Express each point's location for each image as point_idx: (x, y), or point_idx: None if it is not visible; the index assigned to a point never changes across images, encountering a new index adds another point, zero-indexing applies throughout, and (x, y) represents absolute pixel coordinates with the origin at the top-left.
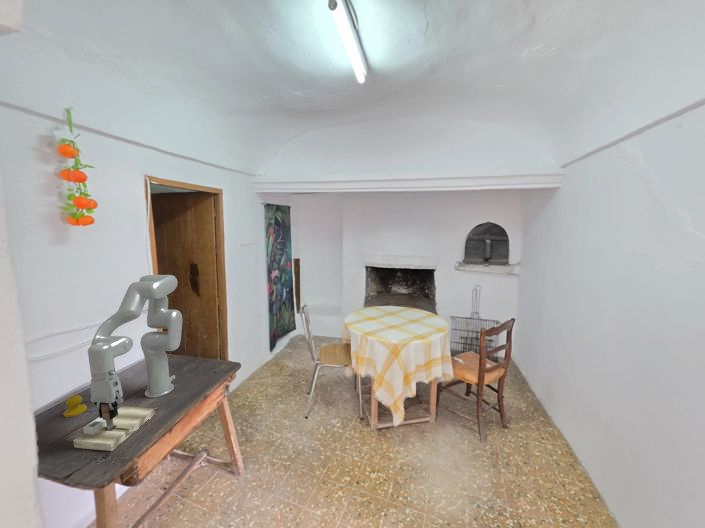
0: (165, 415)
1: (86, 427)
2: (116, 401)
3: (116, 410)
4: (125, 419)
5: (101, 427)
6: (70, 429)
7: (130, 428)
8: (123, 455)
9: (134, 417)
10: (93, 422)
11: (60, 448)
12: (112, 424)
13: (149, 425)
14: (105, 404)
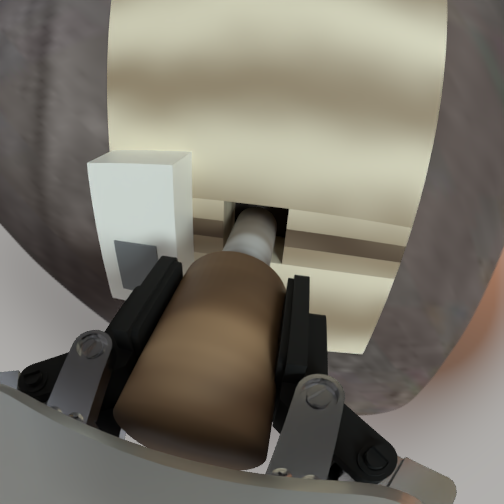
0: (496, 36)
1: (126, 295)
2: (326, 465)
3: (323, 356)
4: (296, 126)
5: (189, 243)
6: (23, 179)
7: (406, 234)
8: (422, 342)
9: (362, 100)
10: (117, 254)
11: (105, 291)
12: (271, 253)
13: (460, 130)
14: (195, 457)
